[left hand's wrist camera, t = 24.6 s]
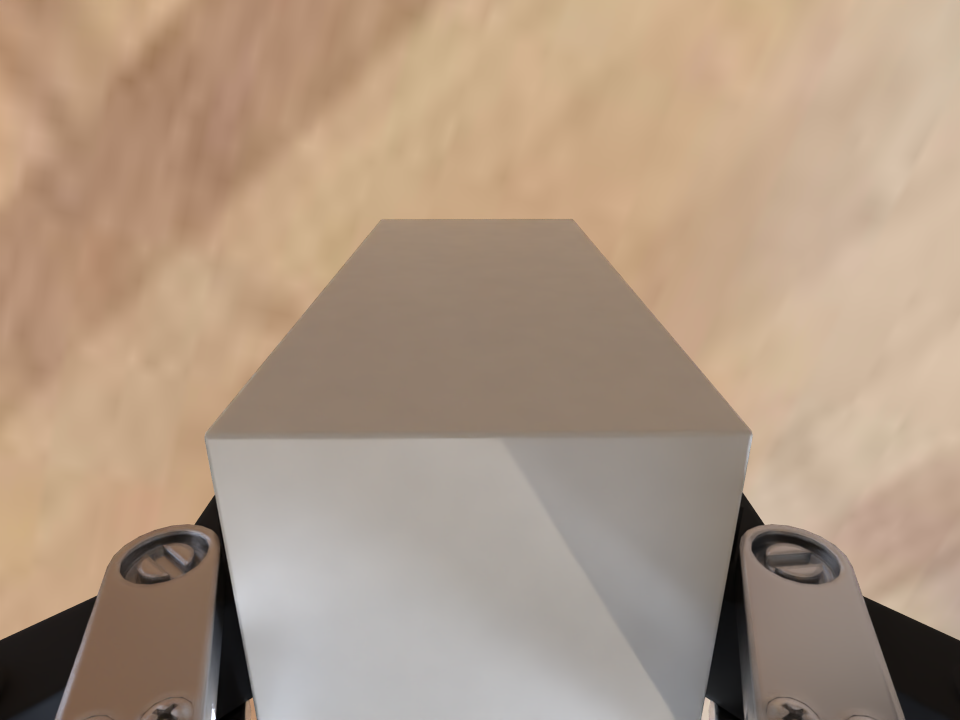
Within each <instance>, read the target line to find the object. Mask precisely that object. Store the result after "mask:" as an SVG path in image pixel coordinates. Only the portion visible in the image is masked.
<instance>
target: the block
mask: <svg viewBox="0 0 960 720" xmlns="http://www.w3.org/2000/svg"><path fill="white" fill-rule="evenodd" d="M751 442H752V432H751V430H750V429H749V427H748V426H747V425H746V424H745V423H744V421H743V420H742V419H741V418H740V417H739V415H738V414H737V413H736V412H735V411H734V410H733V408H732V407H731V406H730V405H729V404H728V402H727V401H726V400H725V399H724V398H723V397H722V395H721V394H720V393H719V392H718V391H717V389H716V388H715V387H714V386H713V385H712V383H711V382H710V381H709V380H708V379H707V378H706V376H705V375H704V374H703V373H702V372H701V370H700V369H699V368H698V367H697V366H696V365H695V363H694V362H693V361H692V360H691V359H690V357H689V356H688V355H687V354H686V353H685V352H684V350H683V349H682V348H681V347H680V346H679V344H678V343H677V342H676V341H675V340H674V338H673V337H672V336H671V335H670V334H669V333H668V331H667V330H666V329H665V328H664V327H663V325H662V324H661V323H660V322H659V321H658V320H657V318H656V317H655V316H654V315H653V314H652V312H651V311H650V310H649V309H648V308H647V306H646V305H645V304H644V303H643V302H642V301H641V299H640V298H639V297H638V296H637V295H636V293H635V292H634V291H633V290H632V289H631V288H630V286H629V285H628V284H627V283H626V282H625V280H624V279H623V278H622V277H621V276H620V274H619V273H618V272H617V271H616V270H615V269H614V267H613V266H612V265H611V264H610V263H609V261H608V260H607V259H606V258H605V257H604V256H603V254H602V253H601V252H600V251H599V250H598V248H597V247H596V246H595V245H594V244H593V243H592V241H591V240H590V239H589V238H588V237H587V235H586V234H585V233H584V232H583V231H582V229H581V228H580V227H579V226H578V225H577V224H576V222H575V221H574V220H573V219H382V220H380V222H379V223H378V224H377V225H376V226H375V228H374V229H373V230H372V231H371V232H370V234H369V235H368V236H367V237H366V239H365V240H364V241H363V242H362V243H361V245H360V246H359V247H358V248H357V249H356V251H355V252H354V253H353V254H352V256H351V257H350V258H349V259H348V260H347V262H346V263H345V264H344V265H343V266H342V268H341V269H340V270H339V271H338V273H337V274H336V275H335V276H334V277H333V279H332V280H331V281H330V282H329V283H328V285H327V286H326V287H325V288H324V290H323V291H322V292H321V293H320V294H319V296H318V297H317V298H316V299H315V300H314V302H313V303H312V304H311V305H310V307H309V308H308V309H307V310H306V311H305V313H304V314H303V315H302V316H301V317H300V319H299V320H298V321H297V322H296V324H295V325H294V326H293V327H292V328H291V330H290V331H289V332H288V333H287V335H286V336H285V337H284V338H283V339H282V341H281V342H280V343H279V344H278V345H277V347H276V348H275V349H274V350H273V352H272V353H271V354H270V355H269V356H268V358H267V359H266V360H265V361H264V362H263V364H262V365H261V366H260V367H259V369H258V370H257V371H256V372H255V373H254V375H253V376H252V377H251V378H250V379H249V381H248V382H247V383H246V384H245V386H244V387H243V388H242V389H241V390H240V392H239V393H238V394H237V395H236V396H235V398H234V399H233V400H232V401H231V403H230V404H229V405H228V406H227V407H226V409H225V410H224V411H223V412H222V413H221V415H220V416H219V417H218V418H217V420H216V421H215V422H214V423H213V424H212V426H211V427H210V428H209V429H208V430H207V432H206V434H205V444H206V449H207V454H208V460H209V465H210V470H211V476H212V481H213V486H214V492H215V497H216V502H217V508H218V513H219V519H220V524H221V529H222V535H223V540H224V545H225V551H226V556H227V561H228V567H229V572H230V577H231V583H232V588H233V594H234V599H235V604H236V610H237V615H238V620H239V626H240V631H241V636H242V642H243V647H244V652H245V658H246V663H247V668H248V674H249V679H250V685H251V690H252V695H253V701H254V706H255V711H256V717H257V720H701V716H702V711H703V705H704V700H705V694H706V689H707V683H708V678H709V672H710V667H711V661H712V656H713V650H714V645H715V639H716V634H717V628H718V623H719V617H720V612H721V606H722V601H723V595H724V590H725V584H726V579H727V574H728V568H729V563H730V557H731V552H732V546H733V541H734V535H735V530H736V524H737V519H738V513H739V508H740V502H741V497H742V491H743V486H744V480H745V475H746V469H747V464H748V458H749V453H750V448H751Z"/></svg>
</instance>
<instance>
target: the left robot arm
mask: <svg viewBox="0 0 960 720" xmlns="http://www.w3.org/2000/svg"><path fill="white" fill-rule="evenodd" d="M252 697H253V695H252V690H251V685H250V679H249V674H248V668H247V663H246V658H245V652H244V647H243V642H242V636H241V631H240V626H239V620H238V615H237V610H236V604H235V599H234V594H233V588H232V583H231V577H230V572H229V567H228V561H227V556H226V551H225V545H224V540H223V535H222V529H221V524H220V519H219V513H218V508H217V502H216V497H215V495H214V497H213V498H212V500H211V501H210V503H209V504H208V506H207V507H206V509H205V510H204V511H203V513H202V514H201V516H200V517H199V519H198V520H197V522H196V523H195V525H190V524H186V525H174V526H169V527H165V528H161V529H157V530H154V531H151V532H149V533H147V534H144V535H142V536H139V537H138V538H136V539H134V540H133V541H131V542H130V543H128V544H126V545H125V546H124V547H123V548H122V549H120V550H119V551H118V552H117V553H116V554H115V555H114V556H113V558H112V560H111V561H110V563H109V565H108V566H107V569H106V572H105V575H104V578H103V581H102V584H101V587H100V590H99V592H98V595H97V596H95V597H93V598H91V599H89V600H87V601H85V602H82V603H80V604H78V605H76V606H74V607H72V608H69V609H67V610H65V611H63V612H61V613H59V614H56V615H54V616H52V617H50V618H48V619H46V620H43V621H41V622H39V623H37V624H35V625H33V626H30V627H28V628H26V629H24V630H22V631H20V632H17V633H15V634H13V635H11V636H9V637H6V638H4V639H2V640H0V720H251V707H250V701H249V699H251V698H252ZM705 697H707V698H708V699H710V700H711V701H710V707H709V720H960V641H959V640H957V639H955V638H953V637H951V636H949V635H946V634H944V633H942V632H940V631H938V630H936V629H933V628H931V627H929V626H927V625H925V624H922V623H920V622H918V621H916V620H914V619H912V618H909V617H907V616H905V615H903V614H901V613H899V612H896V611H894V610H892V609H890V608H888V607H886V606H883V605H881V604H879V603H877V602H875V601H873V600H870V599H868V598H866V597H864V596H863V595H862V592H861V590H860V587H859V584H858V581H857V578H856V575H855V572H854V569H853V566H852V565H851V563H850V561H849V560H848V558H847V556H846V555H845V554H844V553H843V552H842V551H841V550H840V549H838V548H837V547H836V546H835V545H834V544H832V543H830V542H829V541H827V540H826V539H824V538H822V537H821V536H818V535H816V534H813V533H811V532H809V531H806V530H803V529H799V528H795V527H791V526H786V525H774V524H770V525H764V523H763V522H762V520H761V519H760V517H759V516H758V514H757V513H756V511H755V510H754V508H753V507H752V506H751V504H750V503H749V501H748V500H747V498H746V497H745V495H744V494H743V492H742V497H741V502H740V508H739V513H738V519H737V524H736V530H735V535H734V541H733V546H732V552H731V557H730V563H729V568H728V574H727V579H726V584H725V590H724V595H723V601H722V606H721V612H720V617H719V623H718V628H717V634H716V639H715V645H714V650H713V656H712V661H711V667H710V672H709V678H708V683H707V689H706V694H705Z"/></svg>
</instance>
